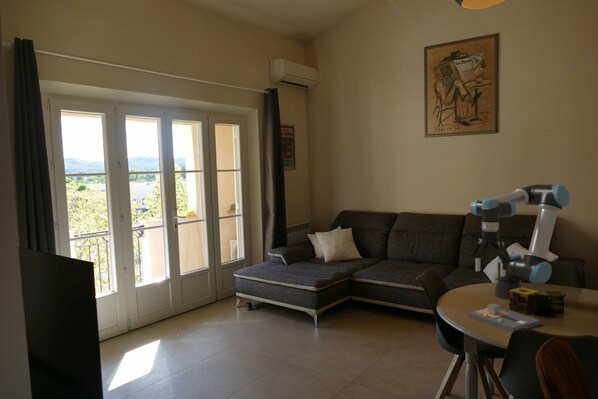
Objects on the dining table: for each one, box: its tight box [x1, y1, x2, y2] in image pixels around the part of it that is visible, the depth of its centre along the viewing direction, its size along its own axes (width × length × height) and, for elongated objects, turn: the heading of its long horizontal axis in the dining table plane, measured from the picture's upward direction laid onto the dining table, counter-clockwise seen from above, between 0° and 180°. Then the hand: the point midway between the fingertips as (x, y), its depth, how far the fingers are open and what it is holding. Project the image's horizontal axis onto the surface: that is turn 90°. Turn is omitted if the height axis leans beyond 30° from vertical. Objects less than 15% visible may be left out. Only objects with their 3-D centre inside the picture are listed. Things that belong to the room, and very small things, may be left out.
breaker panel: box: [468, 307, 541, 333], centre depth 198 cm, size 24×18×3 cm
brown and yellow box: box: [508, 286, 540, 315], centre depth 211 cm, size 10×10×10 cm
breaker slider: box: [486, 303, 501, 314], centre depth 203 cm, size 4×4×4 cm
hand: (490, 273), depth 208 cm, fingers open, 13 cm apart
